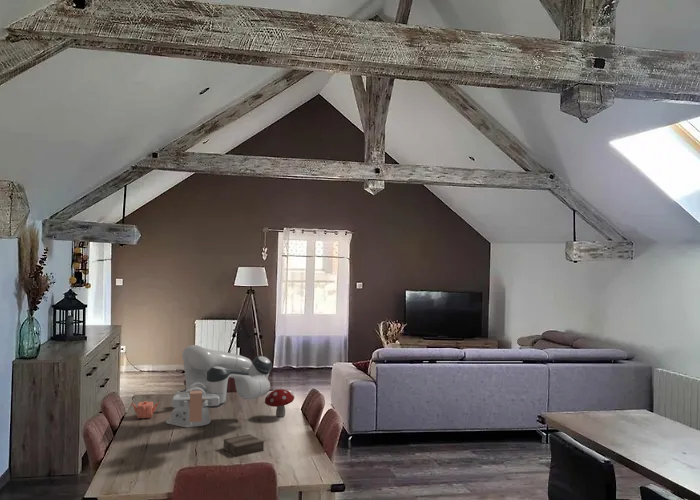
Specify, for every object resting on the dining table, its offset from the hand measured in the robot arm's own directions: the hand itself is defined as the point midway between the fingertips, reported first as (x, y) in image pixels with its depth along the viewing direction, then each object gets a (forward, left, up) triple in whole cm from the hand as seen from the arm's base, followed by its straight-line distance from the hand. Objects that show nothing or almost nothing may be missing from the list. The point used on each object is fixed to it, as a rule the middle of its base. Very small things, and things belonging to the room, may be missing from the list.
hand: (195, 405), depth 256 cm
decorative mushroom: (+8, +70, -22) cm, 74 cm away
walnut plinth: (+15, +16, -22) cm, 31 cm away
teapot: (-58, +45, -22) cm, 77 cm away
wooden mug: (-47, +70, -22) cm, 87 cm away
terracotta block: (0, +1, -6) cm, 7 cm away
